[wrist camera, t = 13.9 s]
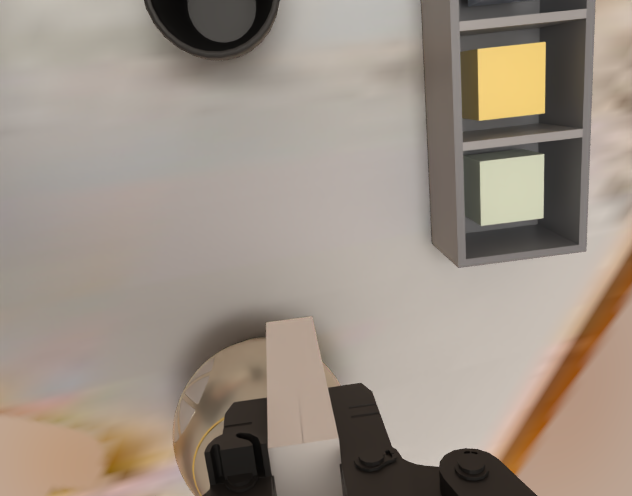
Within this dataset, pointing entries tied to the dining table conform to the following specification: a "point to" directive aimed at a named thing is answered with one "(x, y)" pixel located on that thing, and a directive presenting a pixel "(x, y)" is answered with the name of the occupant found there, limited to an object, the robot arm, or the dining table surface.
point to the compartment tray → (510, 125)
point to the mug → (214, 25)
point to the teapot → (218, 403)
